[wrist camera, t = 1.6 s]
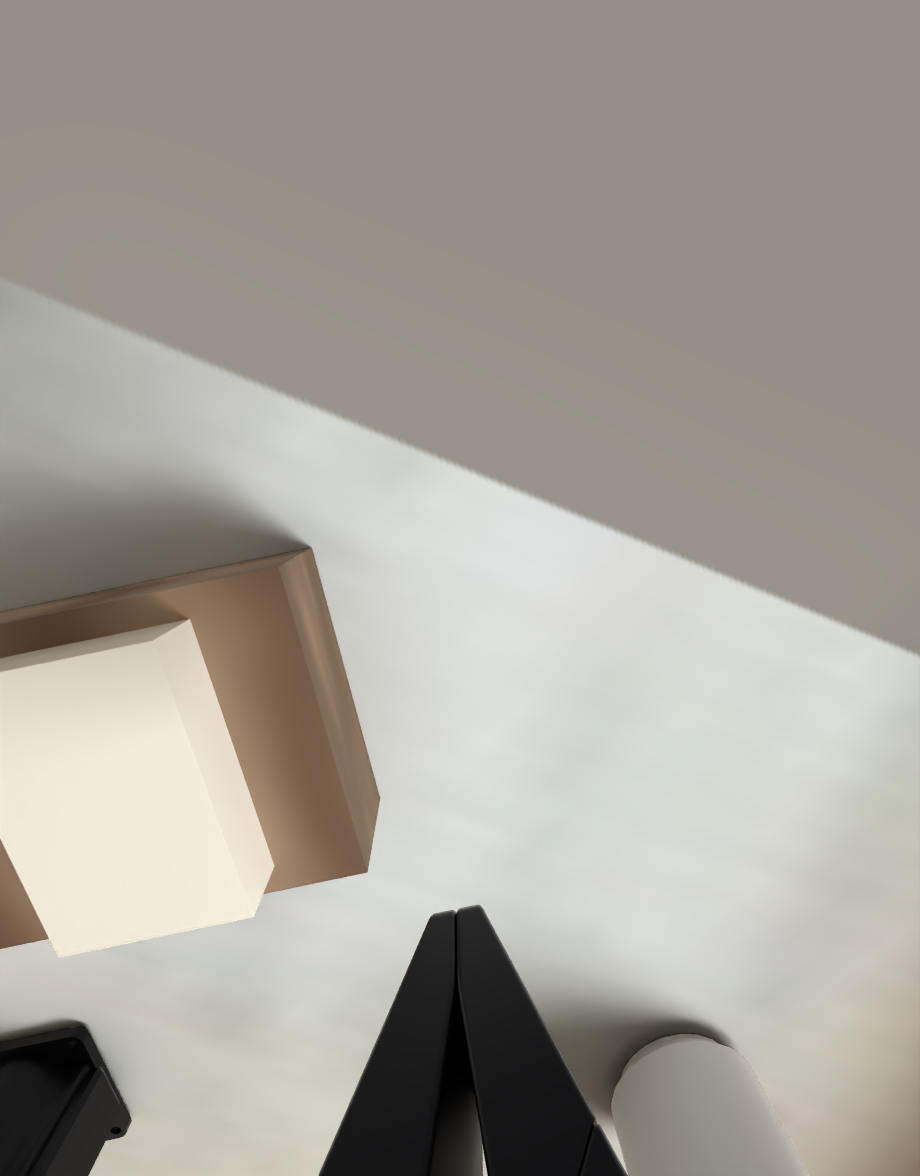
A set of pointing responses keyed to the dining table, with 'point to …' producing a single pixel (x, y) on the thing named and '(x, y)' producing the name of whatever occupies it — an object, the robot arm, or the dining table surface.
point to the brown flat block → (242, 707)
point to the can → (698, 1114)
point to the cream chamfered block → (125, 791)
